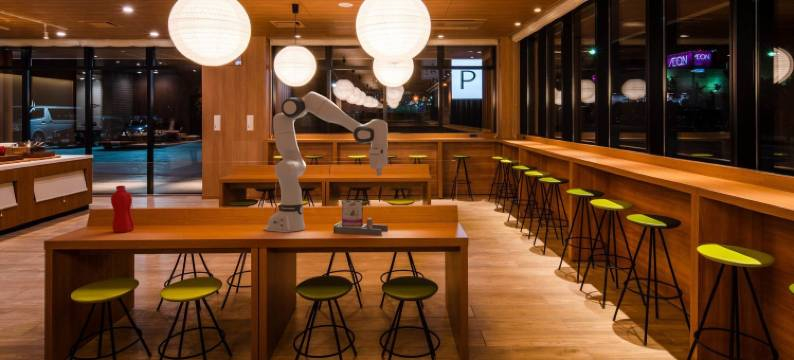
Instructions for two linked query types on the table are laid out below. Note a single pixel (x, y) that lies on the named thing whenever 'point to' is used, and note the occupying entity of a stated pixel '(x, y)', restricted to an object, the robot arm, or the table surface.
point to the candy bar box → (352, 213)
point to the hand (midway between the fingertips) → (379, 175)
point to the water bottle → (122, 210)
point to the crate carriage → (368, 226)
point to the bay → (361, 229)
